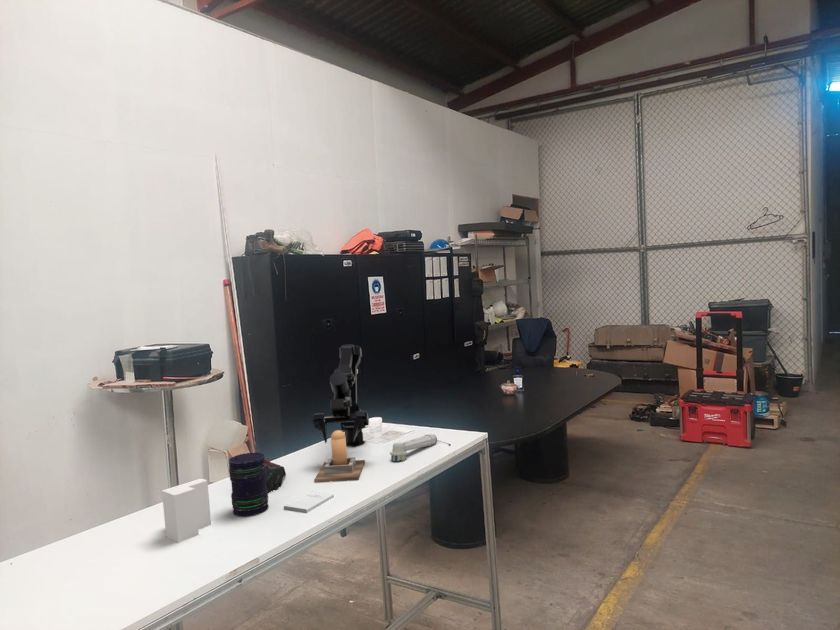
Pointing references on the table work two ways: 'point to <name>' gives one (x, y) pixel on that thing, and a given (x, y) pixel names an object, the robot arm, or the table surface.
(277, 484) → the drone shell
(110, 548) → the table surface
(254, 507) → the storage jar
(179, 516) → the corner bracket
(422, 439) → the grey cylindrical tool
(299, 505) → the external hard drive
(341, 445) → the ball
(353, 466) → the jig
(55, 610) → the table surface
